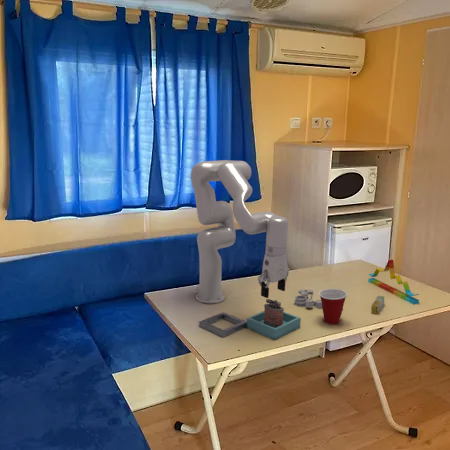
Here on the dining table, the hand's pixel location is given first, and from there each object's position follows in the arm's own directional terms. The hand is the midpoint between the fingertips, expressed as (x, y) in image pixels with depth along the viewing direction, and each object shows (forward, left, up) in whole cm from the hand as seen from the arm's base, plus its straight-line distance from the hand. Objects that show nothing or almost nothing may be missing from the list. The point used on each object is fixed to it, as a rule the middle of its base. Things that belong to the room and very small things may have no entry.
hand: (273, 293), depth 180 cm
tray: (+1, 0, -14) cm, 14 cm away
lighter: (+1, 0, -13) cm, 13 cm away
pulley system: (-4, +31, -14) cm, 34 cm away
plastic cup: (+13, +21, -14) cm, 28 cm away
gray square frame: (-13, -13, -14) cm, 23 cm away
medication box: (+20, +45, -14) cm, 52 cm away
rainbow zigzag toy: (+15, +69, -14) cm, 72 cm away
